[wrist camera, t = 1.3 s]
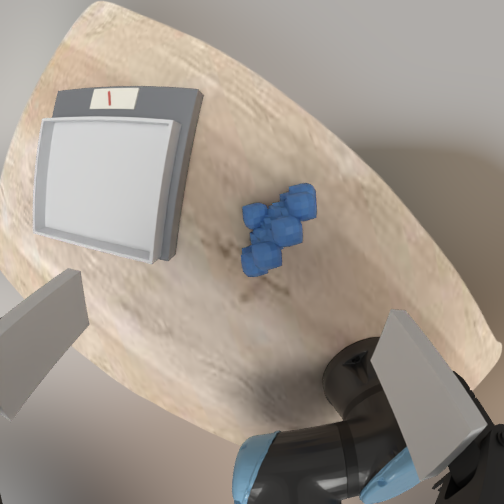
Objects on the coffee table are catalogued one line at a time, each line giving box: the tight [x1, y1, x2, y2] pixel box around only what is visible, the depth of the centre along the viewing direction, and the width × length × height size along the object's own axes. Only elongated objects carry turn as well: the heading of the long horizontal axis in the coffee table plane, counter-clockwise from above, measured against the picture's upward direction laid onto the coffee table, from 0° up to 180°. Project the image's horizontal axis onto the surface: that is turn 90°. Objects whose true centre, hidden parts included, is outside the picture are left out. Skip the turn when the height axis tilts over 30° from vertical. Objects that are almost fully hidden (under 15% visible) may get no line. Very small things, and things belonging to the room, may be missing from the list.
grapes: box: [241, 183, 317, 277], centre depth 29 cm, size 12×7×12 cm, turn 145°
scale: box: [33, 86, 204, 264], centre depth 30 cm, size 22×21×6 cm
